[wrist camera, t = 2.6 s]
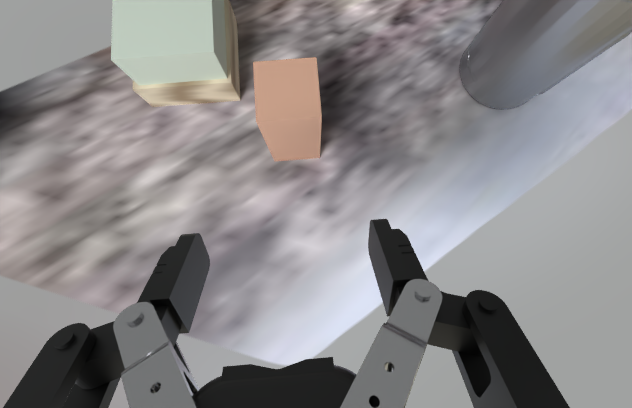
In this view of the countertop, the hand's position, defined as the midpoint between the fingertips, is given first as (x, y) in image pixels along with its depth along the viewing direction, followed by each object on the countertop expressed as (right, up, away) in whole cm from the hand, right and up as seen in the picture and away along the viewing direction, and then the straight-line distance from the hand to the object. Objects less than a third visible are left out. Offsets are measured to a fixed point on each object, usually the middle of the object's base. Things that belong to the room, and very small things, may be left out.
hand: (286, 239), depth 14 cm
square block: (-1, +9, +18) cm, 20 cm away
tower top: (-13, +19, +16) cm, 28 cm away
